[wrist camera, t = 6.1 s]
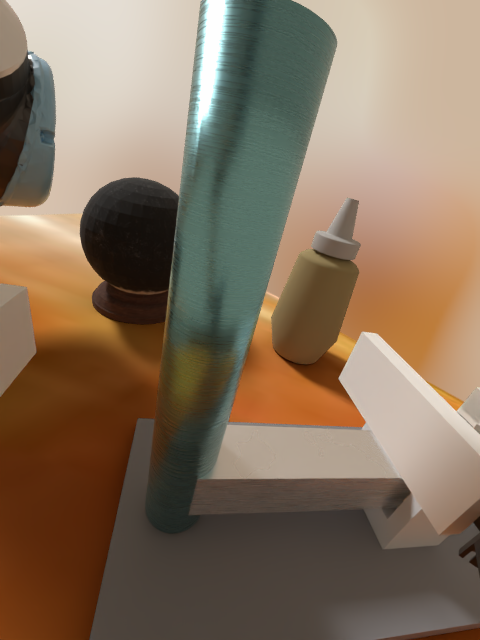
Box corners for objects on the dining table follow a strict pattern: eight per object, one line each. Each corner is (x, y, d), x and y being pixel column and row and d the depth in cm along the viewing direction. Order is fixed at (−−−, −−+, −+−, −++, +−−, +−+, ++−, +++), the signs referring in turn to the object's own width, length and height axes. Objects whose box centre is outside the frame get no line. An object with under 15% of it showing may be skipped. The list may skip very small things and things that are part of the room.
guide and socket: (80, 693, 10) (62, 607, 6) (137, 427, 21) (143, 331, 17) (612, 605, 17) (762, 537, 13) (456, 438, 28) (515, 372, 24)
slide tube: (140, 535, 14) (201, -38, 5) (149, 472, 17) (199, 33, 7) (403, 522, 17) (725, 180, 8) (374, 472, 20) (593, 174, 11)
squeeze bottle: (339, 363, 35) (412, 214, 26) (294, 379, 30) (366, 203, 22) (294, 329, 40) (343, 196, 32) (250, 338, 35) (294, 184, 27)
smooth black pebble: (119, 274, 43) (121, 166, 36) (201, 297, 43) (219, 192, 36) (56, 309, 32) (42, 160, 25) (168, 340, 31) (185, 197, 24)
